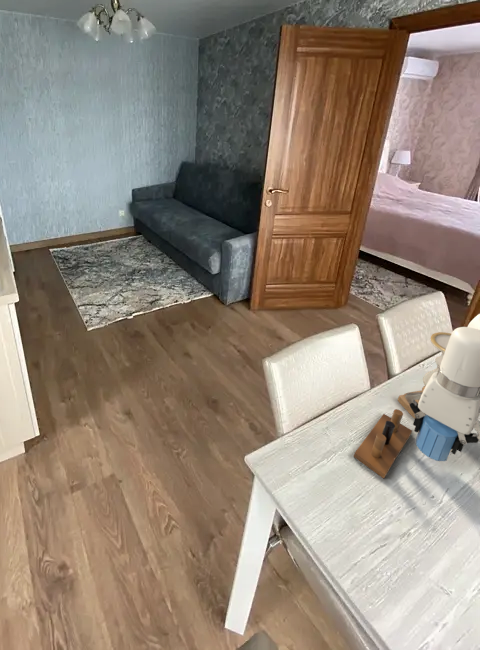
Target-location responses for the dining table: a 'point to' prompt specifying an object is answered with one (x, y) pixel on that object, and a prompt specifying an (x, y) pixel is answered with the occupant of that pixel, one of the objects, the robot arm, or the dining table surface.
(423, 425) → the cup
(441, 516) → the dining table surface
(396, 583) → the dining table surface
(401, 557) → the dining table surface
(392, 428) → the rack
